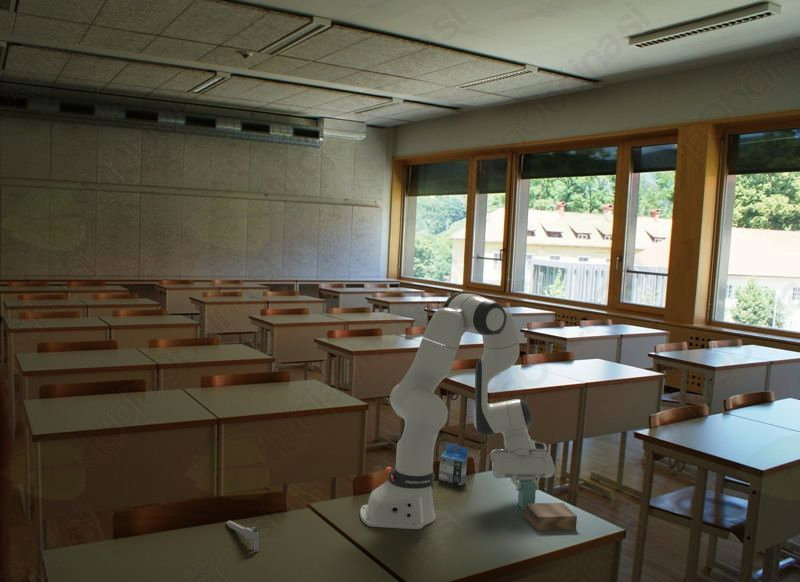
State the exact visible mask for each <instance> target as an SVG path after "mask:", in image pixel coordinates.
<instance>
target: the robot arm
mask: <svg viewBox="0 0 800 582" xmlns="http://www.w3.org/2000/svg"><path fill="white" fill-rule="evenodd" d="M466 332H471V333H472V332H473V333H476V334H480V335H482V343H483V353H482V355H481V357H480V358H479V359H478V360H477V361H476V365H475V374H474V376H475V377H474V410H473V416H472V417H473V419H472V420H473V425H474V428H475V431H477V432H478V433H479V434H481V435H482V436H485V437H488V436H491V435H495V434H499V433H501V434H502V436H503V445H504V449H503V448H502V449H501V448H500V449H497V448H495V449H493V450H491V451H490V452H489V458H490V461H491V468H492V469H491V472H492V476H493V477H495V479H510V481H511V482H512V484H513V485H514V486H515V489H516V491H519V490H522V489H523V487H522V483H519V480H518V479H517V478H520V479H523V478H526V479H527V478H528V479H531V478H533V481H535V482H534V483H535V484H536V491H538V490H539V488H540V486H539V481H540V478H552V477H553V475H554V474H555V472H556V468H555V464H554V461H553V457H552V456H551V454H550V453H549V452H547V451H548V447H547V444H546V443H542V442H539V441H536V440H533V439H531V436H530V435H529V432H528V430H529V429H530V427H531V425H532V423H533V419H532V416H531V412H530V406H529V404H528V403H527V402H526V401H525V400H523V399H521V398H519V399H518V398H515V399H510V400H509V399H508V400H505V401H499V402H492V403H491V402H490V403H488V399H489V398H488V396H489V395H488V394H489V393H488V391H489V389H488V388H489V384H490V382H491V380H492V379H494V378H496V377H497V376H498V375H500V374H501V373H503V372H505V371H508V369H510V368H511V367H513V366H514V365H515V364H516V362H517V361H518V359H519V357H520V341H519V336H518V335H519V334H518V331H517V326H516V323H515V320H514V317H513V314H512V313H511V311H510V310H509V309H507V308H505V307H503V306H502V305H501V304H500V303H499V302H497V301H496V300H493V299H489V298H486V297H484V296H482V295H480V294H474V293H467V292H464V291H463V292H455V293H453V294H451V295H450V296H449V297H448V298H447V299H446V301H445V302H444V305H443V306H442V307H440V308H438V309H436V311H435V312H434V313H433V315H432V317H431V318H430V320H429V322H428V324H427V326H426V329H425V331H424V333H423V336H422V339H421V341H420V343H419V347H418V350H417V352H416V354H415V357H414V360H413V361H412V364H411V366H410V368H409V369H408V370H407V372H406V374H405V375H404V377H403V378H402V380H401V381H400V382H399V383H398V384H396V385H395V386H394V387H393V388H392V390H391V392H390V394H389V403H390V405H391V407H392V409H393V410H394V413H395V414H397V416H399V417H400V418H402V419H403V420H404V424H405V425H404V429H403V433H402V436H401V438H400V439H399V440H398V441H397V444H396V458H395V467H394V468H393V469H392V467H391V466H386V468H385V470H384V471H385V474H386V475H387V476H388V477H387V479H388V480H386V481H385V482H383V484H381V485H380V486H378V487H376V488H374V489H373V490H372V491H371V493H370V495H369V498H368V502H367V504H364V505H362V506H361V508H360V510H359V516H360V519H361V521H362V522H363V523H364V524H365V525H366V526H368V527H372V528H373V527H374V528H387V529H389V528H392V529H406V530H408V529H409V530H421V529H422V528H423V527H424V526H426V525H429V524H431V523H433V522H434V521H435V520H436V517H437V516H436V513H435V508H434V507H435V506H434V501H433V500H434V497H433V489H434V485H435V470H434V456H435V455H434V454H435V445H436V441H437V438H438V435H439V432H440V430H441V429H443V427H444V426H445V425H446V423H447V421H448V418H449V410H448V406H447V405H446V403H445V402H444V401H443V399H442V398H441V397H440V396H439V395H437V394H435V391H436V389H437V387H438V386H439V385H440V383H441V382H442V381H443V380H444V379H446V378H447V377H448V376H449V375H450V372H451V370H452V367H453V365H454V362H455V358H456V355H457V352H458V350H459V348H460V345H461V341H462V337H463V336H464V334H465V333H466Z"/></svg>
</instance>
